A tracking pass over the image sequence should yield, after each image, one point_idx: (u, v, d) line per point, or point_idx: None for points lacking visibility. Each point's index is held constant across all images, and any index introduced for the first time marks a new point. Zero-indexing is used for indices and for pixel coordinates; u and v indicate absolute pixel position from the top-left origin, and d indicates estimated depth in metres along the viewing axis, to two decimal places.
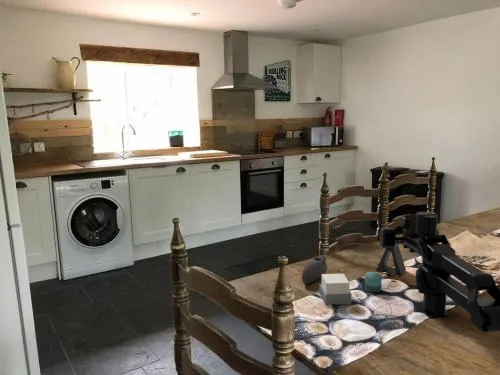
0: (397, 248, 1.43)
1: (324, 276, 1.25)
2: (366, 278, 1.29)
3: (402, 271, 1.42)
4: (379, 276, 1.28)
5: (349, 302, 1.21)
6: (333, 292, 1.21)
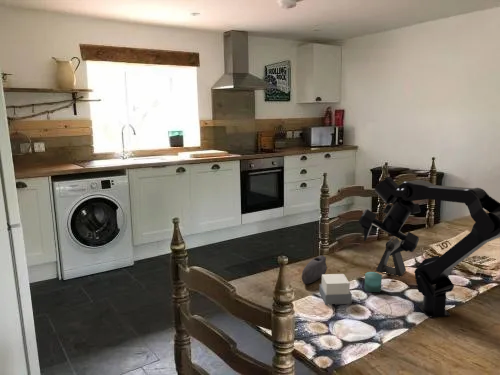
0: None
1: (324, 276, 1.25)
2: (366, 278, 1.29)
3: (402, 271, 1.42)
4: (379, 276, 1.28)
5: (349, 302, 1.21)
6: (333, 292, 1.20)
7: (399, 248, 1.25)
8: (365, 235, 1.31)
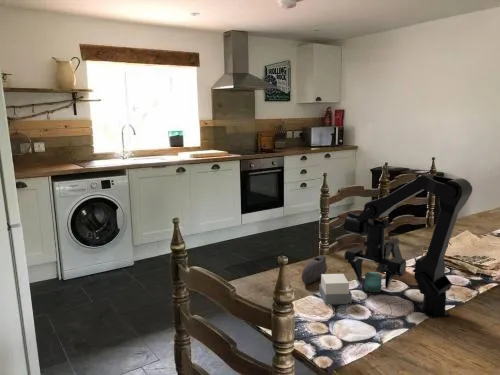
0: (397, 248, 1.43)
1: (324, 276, 1.25)
2: (366, 278, 1.29)
3: (402, 271, 1.42)
4: (379, 276, 1.28)
5: (349, 302, 1.21)
6: (332, 292, 1.21)
7: (387, 273, 1.23)
8: (356, 272, 1.32)
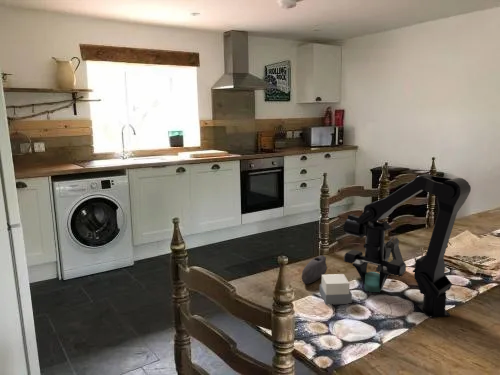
0: (397, 248, 1.43)
1: (324, 276, 1.25)
2: (366, 278, 1.29)
3: None
4: (379, 276, 1.28)
5: (349, 302, 1.21)
6: (333, 292, 1.20)
7: (381, 274, 1.25)
8: (361, 276, 1.31)
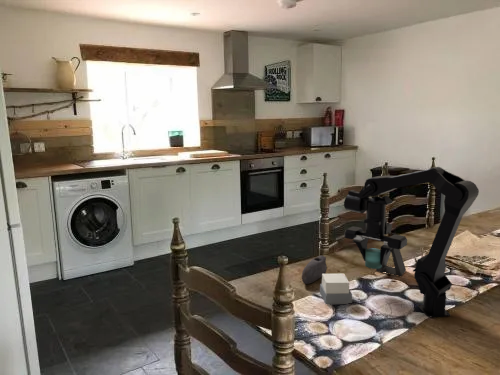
0: None
1: (324, 275, 1.25)
2: (367, 254, 1.27)
3: (402, 271, 1.42)
4: None
5: (350, 302, 1.21)
6: (333, 291, 1.21)
7: (381, 249, 1.23)
8: (361, 252, 1.29)
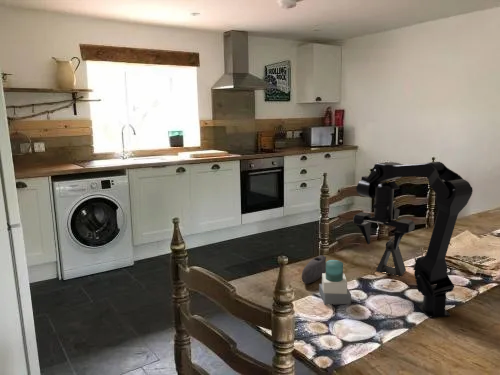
0: (397, 248, 1.43)
1: (324, 275, 1.26)
2: (326, 266, 1.22)
3: (402, 271, 1.42)
4: (340, 264, 1.21)
5: (349, 302, 1.21)
6: (330, 291, 1.21)
7: (395, 234, 1.25)
8: (364, 235, 1.34)
